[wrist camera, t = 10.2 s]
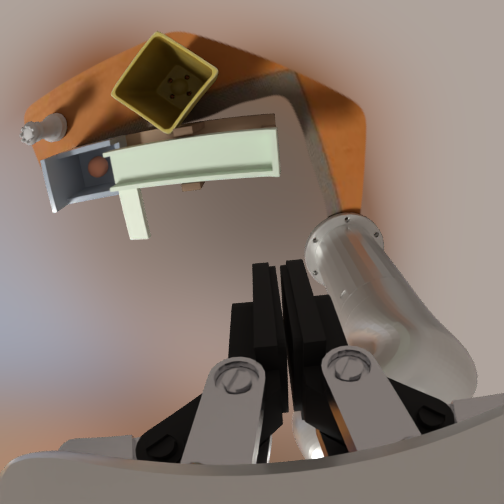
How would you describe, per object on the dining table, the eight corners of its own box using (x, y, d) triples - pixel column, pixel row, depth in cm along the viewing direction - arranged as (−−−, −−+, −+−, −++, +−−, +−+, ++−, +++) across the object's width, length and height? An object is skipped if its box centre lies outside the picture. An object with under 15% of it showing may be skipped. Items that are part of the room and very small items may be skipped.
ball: (87, 181, 38) (94, 176, 40) (106, 177, 38) (112, 172, 41) (82, 161, 36) (90, 157, 39) (101, 156, 37) (109, 152, 39)
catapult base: (278, 163, 41) (286, 180, 32) (136, 180, 42) (108, 202, 33) (273, 113, 38) (281, 116, 29) (127, 134, 39) (96, 145, 30)
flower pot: (175, 43, 33) (155, 29, 25) (227, 78, 36) (220, 70, 28) (136, 95, 36) (108, 94, 28) (186, 130, 39) (168, 136, 31)
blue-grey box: (136, 181, 42) (110, 201, 33) (84, 191, 42) (53, 212, 34) (127, 134, 39) (98, 143, 30) (75, 147, 39) (40, 160, 31)
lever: (284, 230, 35) (283, 240, 32) (131, 237, 38) (122, 246, 35) (277, 127, 30) (275, 129, 27) (112, 149, 33) (100, 154, 30)
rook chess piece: (54, 146, 39) (24, 157, 31) (42, 125, 37) (10, 132, 30) (73, 128, 38) (43, 136, 31) (60, 106, 36) (28, 111, 29)
